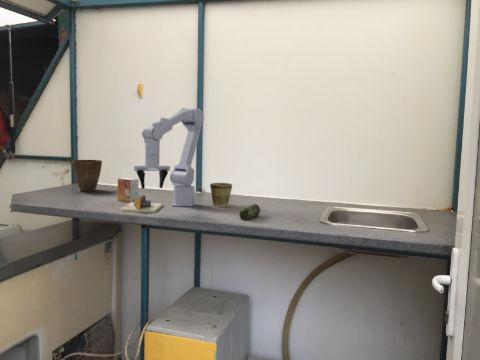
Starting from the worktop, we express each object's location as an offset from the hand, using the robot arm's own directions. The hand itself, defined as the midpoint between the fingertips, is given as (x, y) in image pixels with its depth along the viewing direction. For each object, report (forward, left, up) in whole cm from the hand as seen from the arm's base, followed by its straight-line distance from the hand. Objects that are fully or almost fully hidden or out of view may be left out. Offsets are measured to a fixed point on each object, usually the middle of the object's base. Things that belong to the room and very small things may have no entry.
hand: (152, 188), depth 167 cm
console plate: (+5, -5, -9) cm, 12 cm away
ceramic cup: (-28, -19, -10) cm, 35 cm away
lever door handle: (+5, -2, -8) cm, 10 cm away
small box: (+16, -21, -10) cm, 28 cm away
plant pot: (+45, -48, -10) cm, 66 cm away
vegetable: (-41, +6, -10) cm, 43 cm away
